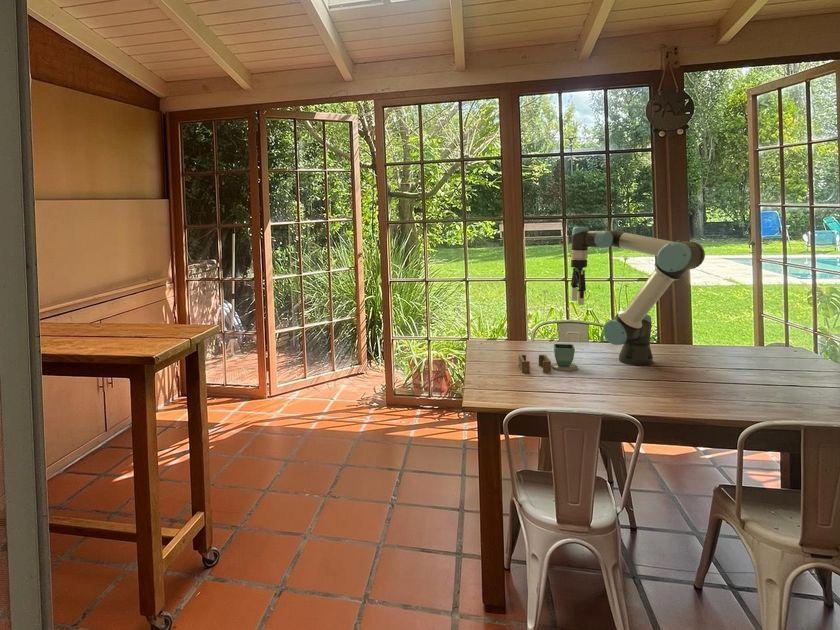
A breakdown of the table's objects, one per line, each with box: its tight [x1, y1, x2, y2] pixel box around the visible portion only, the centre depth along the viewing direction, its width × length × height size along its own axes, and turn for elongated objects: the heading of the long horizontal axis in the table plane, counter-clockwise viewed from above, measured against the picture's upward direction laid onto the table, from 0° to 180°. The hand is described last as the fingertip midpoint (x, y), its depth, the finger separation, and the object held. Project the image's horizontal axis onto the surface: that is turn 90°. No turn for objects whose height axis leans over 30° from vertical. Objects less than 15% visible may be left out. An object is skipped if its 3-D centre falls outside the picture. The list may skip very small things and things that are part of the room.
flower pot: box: [553, 343, 576, 366], centre depth 244 cm, size 9×9×9 cm
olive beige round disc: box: [551, 362, 579, 372], centre depth 244 cm, size 12×12×1 cm
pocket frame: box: [518, 354, 552, 374], centre depth 242 cm, size 13×13×5 cm
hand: (577, 302), depth 260 cm, fingers open, 13 cm apart
